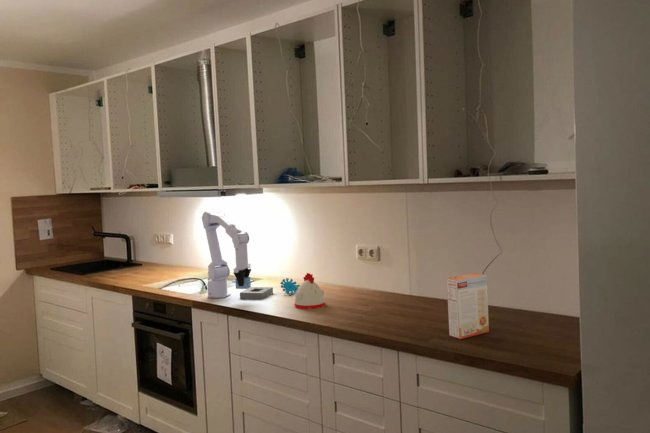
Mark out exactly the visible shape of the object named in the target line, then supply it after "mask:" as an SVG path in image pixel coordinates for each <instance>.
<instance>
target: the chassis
mask: <svg viewBox="0 0 650 433" xmlns="http://www.w3.org/2000/svg"><path fill="white" fill-rule="evenodd" d="M272 294H274V288H273V287H267V286H266V287H265V286H258V287H257V286H251V287H250V288H248V289H243V291H240V292H239V299H240V300H241V299H242V300H245V299H246V300H247V299H248V300H263V299H265V298H267V297H269V296H271V295H272Z"/></svg>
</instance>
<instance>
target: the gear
mask: <svg viewBox="0 0 650 433" xmlns="http://www.w3.org/2000/svg"><path fill="white" fill-rule="evenodd" d="M280 284H281V285H280V288H281V289H282V292H285V293H286V294H287V295H288V294H290V295H294V294H295V292H297V290H298V288H299V287H300V285H301V284H297V281H296V280H295V281H294V279H292V278H290V280H289V278H288V277H286V278H283V279H282V280H281V282H280Z"/></svg>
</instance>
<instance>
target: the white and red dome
mask: <svg viewBox="0 0 650 433" xmlns="http://www.w3.org/2000/svg"><path fill="white" fill-rule="evenodd" d="M294 297H295V298H294V308H296V309H300V310H314V309H320V308H323V307H325V306H326V300H325V293H324V289H323V288H321V287H320V286H319V285H318V284H317V282H315V277H313V274H311V273H309V272H306V274H304V277H303V282H302V283H301V284H300V287H298V290H297V292H295V293H294Z"/></svg>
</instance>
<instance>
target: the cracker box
mask: <svg viewBox="0 0 650 433" xmlns="http://www.w3.org/2000/svg"><path fill="white" fill-rule="evenodd" d="M446 291H447V292H446V293H447V311H448V313H447V314H448V333H449V337H453V338H455V339H459V340H463V339H468V338H470V337H471V338H472V337H475V336H479V335H483V334H487V333H489V332H490V328H489V327H490V325H489V303H488V302H489V300H488V297H489V296H488V275H487V274H482V273H478V272H476V273H475V272H474V273H469V274H464V275H457V276H453V277H452V276H451V277H447V278H446Z"/></svg>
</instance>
